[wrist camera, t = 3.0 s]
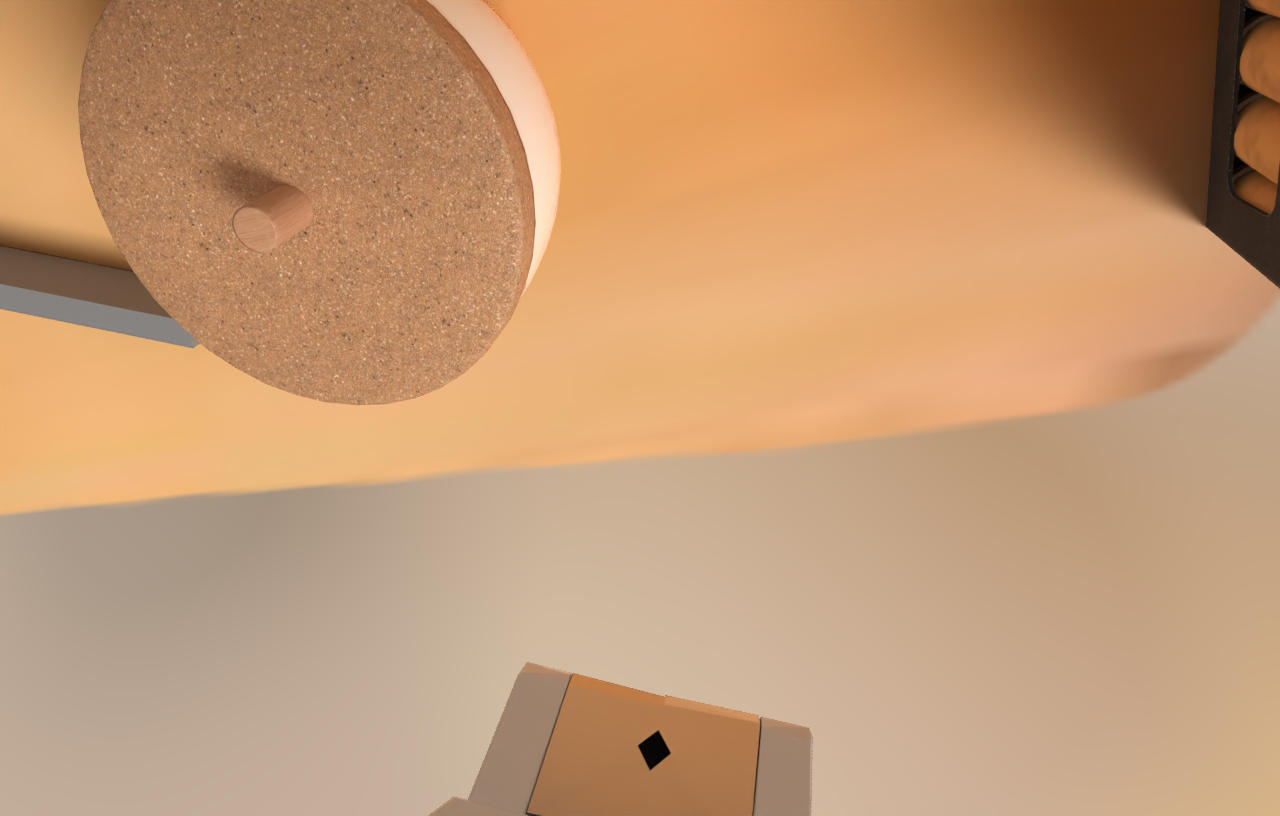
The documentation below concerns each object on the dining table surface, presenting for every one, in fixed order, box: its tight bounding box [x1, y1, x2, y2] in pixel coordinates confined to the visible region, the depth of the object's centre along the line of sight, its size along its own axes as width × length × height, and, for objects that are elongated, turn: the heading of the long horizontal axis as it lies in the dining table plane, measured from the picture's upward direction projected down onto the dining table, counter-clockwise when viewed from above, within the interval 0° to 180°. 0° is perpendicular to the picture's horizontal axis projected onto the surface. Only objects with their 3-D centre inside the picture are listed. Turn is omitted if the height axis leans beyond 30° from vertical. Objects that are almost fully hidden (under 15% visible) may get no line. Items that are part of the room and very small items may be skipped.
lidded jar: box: [78, 0, 561, 405], centre depth 22 cm, size 11×11×9 cm
